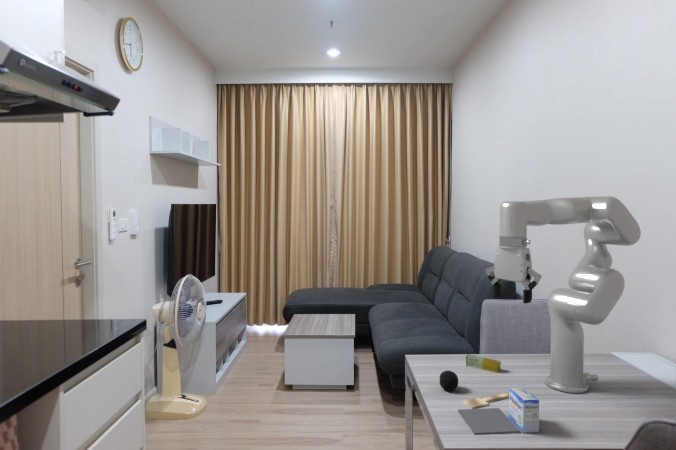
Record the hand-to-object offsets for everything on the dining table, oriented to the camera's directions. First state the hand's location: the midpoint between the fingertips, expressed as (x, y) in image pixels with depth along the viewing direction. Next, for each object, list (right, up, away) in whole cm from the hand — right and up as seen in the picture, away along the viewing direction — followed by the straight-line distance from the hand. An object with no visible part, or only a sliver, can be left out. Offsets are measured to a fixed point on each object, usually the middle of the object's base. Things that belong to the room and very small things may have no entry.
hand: (511, 300), depth 130 cm
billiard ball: (-16, -31, +9) cm, 36 cm away
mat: (-11, -31, -11) cm, 35 cm away
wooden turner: (-7, -31, +1) cm, 31 cm away
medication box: (+1, -30, +28) cm, 41 cm away
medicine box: (-2, -31, -14) cm, 34 cm away
